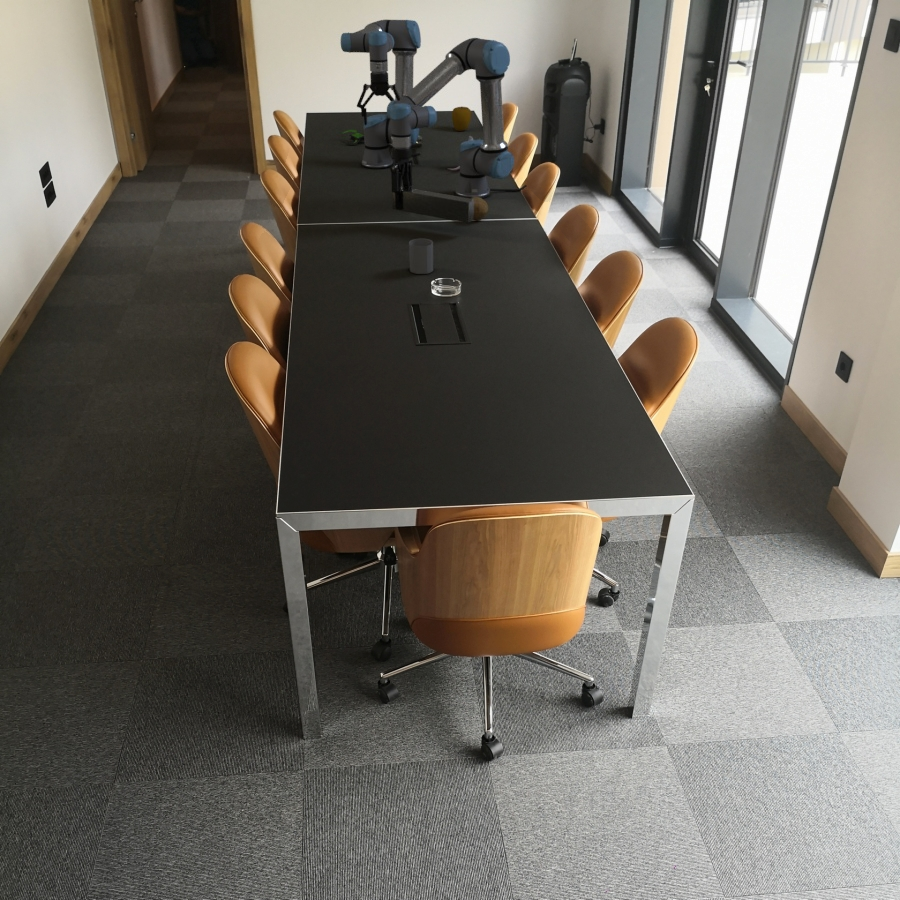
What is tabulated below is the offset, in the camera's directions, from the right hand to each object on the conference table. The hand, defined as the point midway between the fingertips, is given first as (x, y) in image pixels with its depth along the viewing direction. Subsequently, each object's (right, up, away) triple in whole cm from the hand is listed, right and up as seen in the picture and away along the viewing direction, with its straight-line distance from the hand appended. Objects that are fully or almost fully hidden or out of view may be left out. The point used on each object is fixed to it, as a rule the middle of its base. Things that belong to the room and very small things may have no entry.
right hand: (402, 207), depth 346 cm
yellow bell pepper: (+26, +84, +144) cm, 169 cm away
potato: (+30, -2, +11) cm, 32 cm away
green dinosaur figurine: (-25, +68, +120) cm, 140 cm away
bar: (+12, -4, -5) cm, 14 cm away
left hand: (-11, +44, +30) cm, 54 cm away
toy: (+26, +37, +71) cm, 84 cm away
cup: (+9, -33, -38) cm, 51 cm away
